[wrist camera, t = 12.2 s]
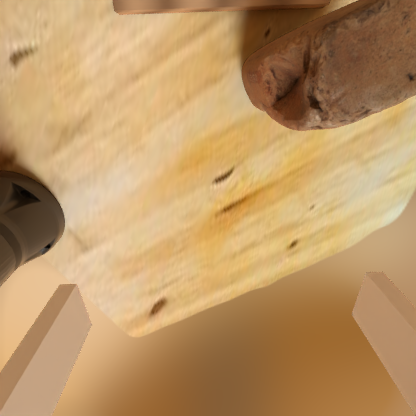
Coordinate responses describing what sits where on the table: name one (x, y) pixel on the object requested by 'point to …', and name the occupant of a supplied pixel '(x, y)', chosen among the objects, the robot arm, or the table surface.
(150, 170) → the table surface
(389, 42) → the brown pitted rock
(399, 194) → the table surface
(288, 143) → the table surface
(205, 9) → the board
